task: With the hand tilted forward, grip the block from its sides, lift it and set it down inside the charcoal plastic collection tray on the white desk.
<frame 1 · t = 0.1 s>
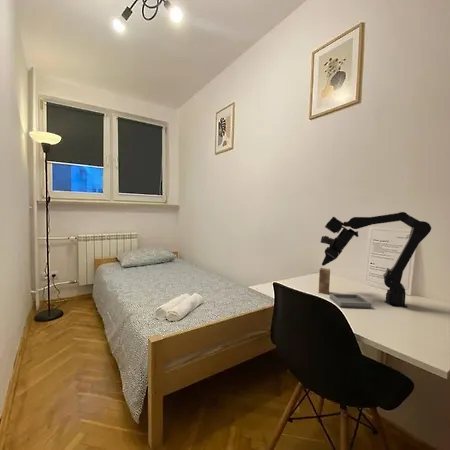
hand: (323, 263, 128), 15 cm above the table, tool tilted 30°, fingers open, 9 cm apart
block: (323, 292, 128), on the table
tray: (349, 302, 114), on the table
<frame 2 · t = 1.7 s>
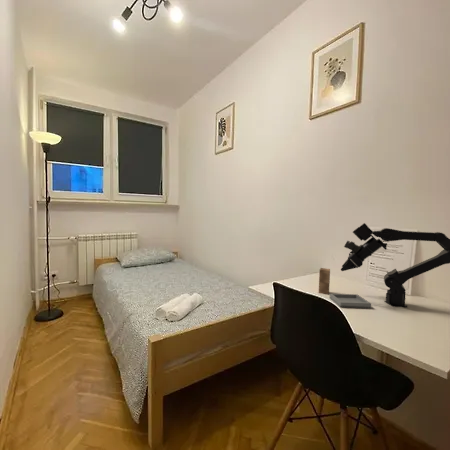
hand: (341, 268, 124), 13 cm above the table, tool tilted 45°, fingers open, 9 cm apart
nothing on the table moved.
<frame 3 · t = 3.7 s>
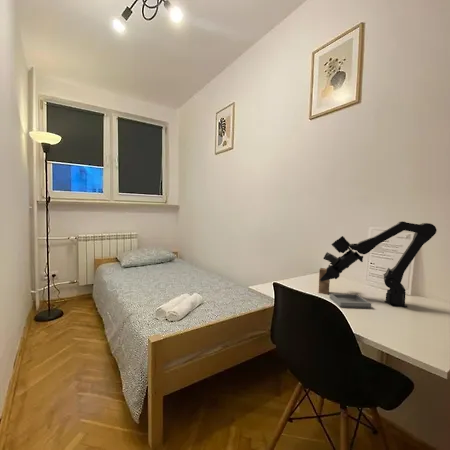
hand: (321, 279, 129), 7 cm above the table, tool tilted 45°, fingers closed on block, 4 cm apart
block: (323, 292, 128), on the table, touching gripper
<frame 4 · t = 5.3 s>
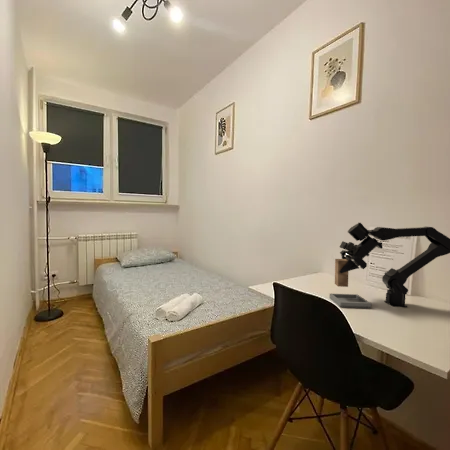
hand: (338, 271, 117), 13 cm above the table, tool tilted 45°, fingers closed on block, 4 cm apart
block: (341, 285, 117), point 7 cm above the table, touching gripper
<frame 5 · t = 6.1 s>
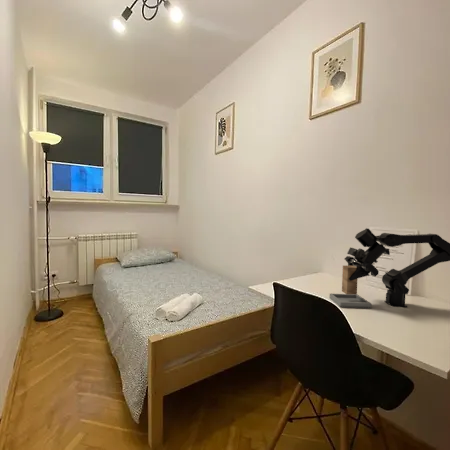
hand: (346, 278, 113), 11 cm above the table, tool tilted 45°, fingers closed on block, 4 cm apart
block: (349, 292, 114), point 5 cm above the table, touching gripper
when the fingers open (9 cm above the table, at t = 6.8 s): block drops 1 cm, resting on tray.
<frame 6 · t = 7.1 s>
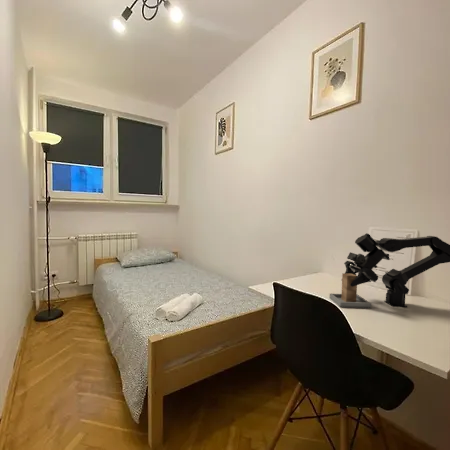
hand: (346, 283, 114), 9 cm above the table, tool tilted 45°, fingers open, 7 cm apart
block: (348, 300, 114), point 1 cm above the table, touching tray
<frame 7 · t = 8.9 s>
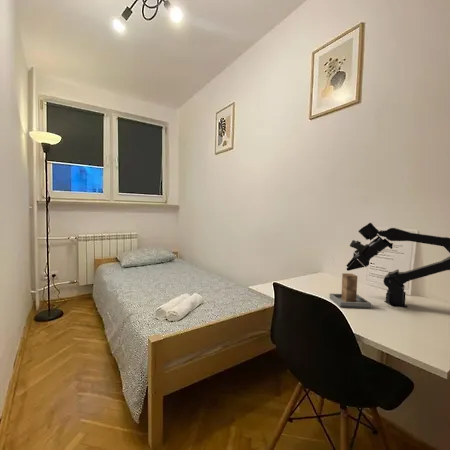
hand: (346, 268, 123), 14 cm above the table, tool tilted 45°, fingers open, 9 cm apart
nothing on the table moved.
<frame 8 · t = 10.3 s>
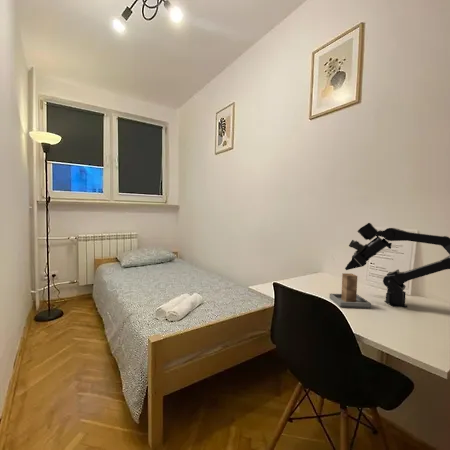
hand: (346, 267, 125), 14 cm above the table, tool tilted 45°, fingers open, 9 cm apart
nothing on the table moved.
at the end: block inside the target area on the tray (0.5 cm from its centre), point 0.8 cm above the tray's base; the gripper is holding nothing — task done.
